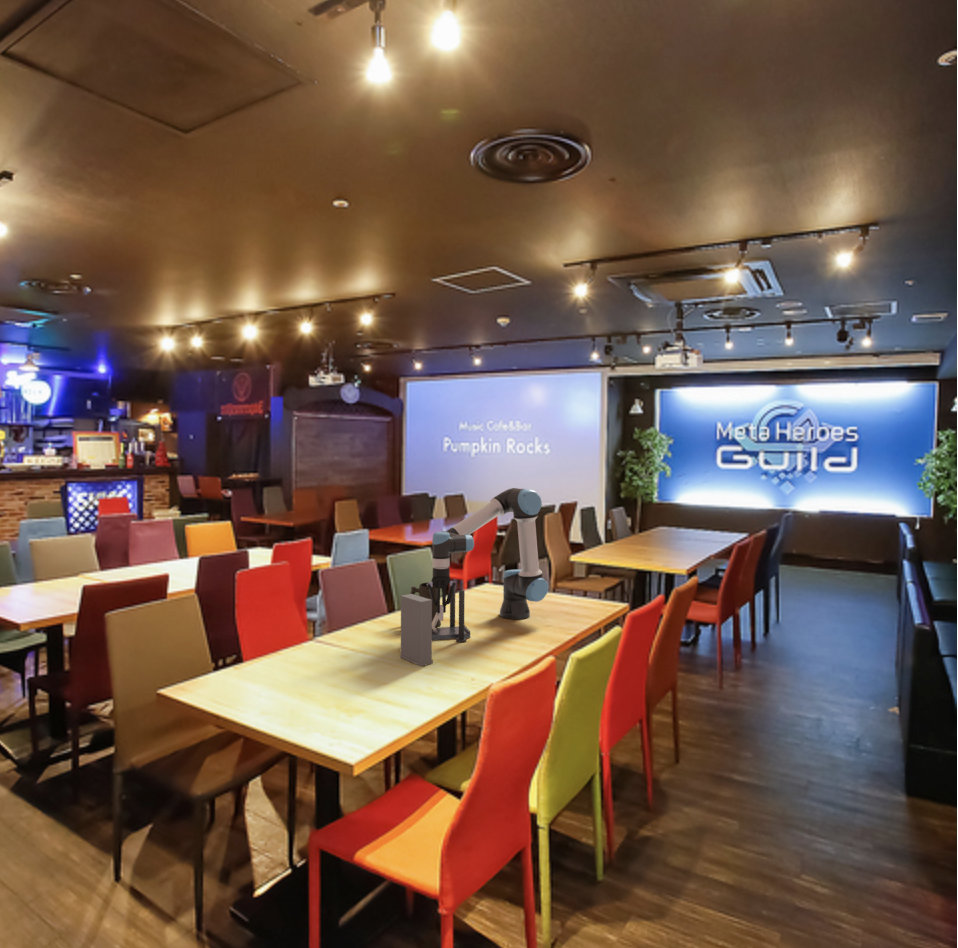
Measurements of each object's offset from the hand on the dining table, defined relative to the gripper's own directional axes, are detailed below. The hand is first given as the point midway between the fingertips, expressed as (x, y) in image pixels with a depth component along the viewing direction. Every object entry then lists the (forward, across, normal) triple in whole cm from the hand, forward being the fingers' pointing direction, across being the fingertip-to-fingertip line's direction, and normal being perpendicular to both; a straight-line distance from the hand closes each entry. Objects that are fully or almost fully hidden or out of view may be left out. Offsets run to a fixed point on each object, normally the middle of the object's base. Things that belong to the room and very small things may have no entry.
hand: (441, 620), depth 287 cm
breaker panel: (+7, 0, -1) cm, 8 cm away
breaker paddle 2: (+4, +3, 0) cm, 5 cm away
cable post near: (+7, -7, +9) cm, 13 cm away
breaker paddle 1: (+4, +3, -6) cm, 8 cm away
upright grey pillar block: (+7, +16, +30) cm, 34 cm away
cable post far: (+8, -7, -9) cm, 14 cm away
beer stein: (+8, +4, -20) cm, 22 cm away
